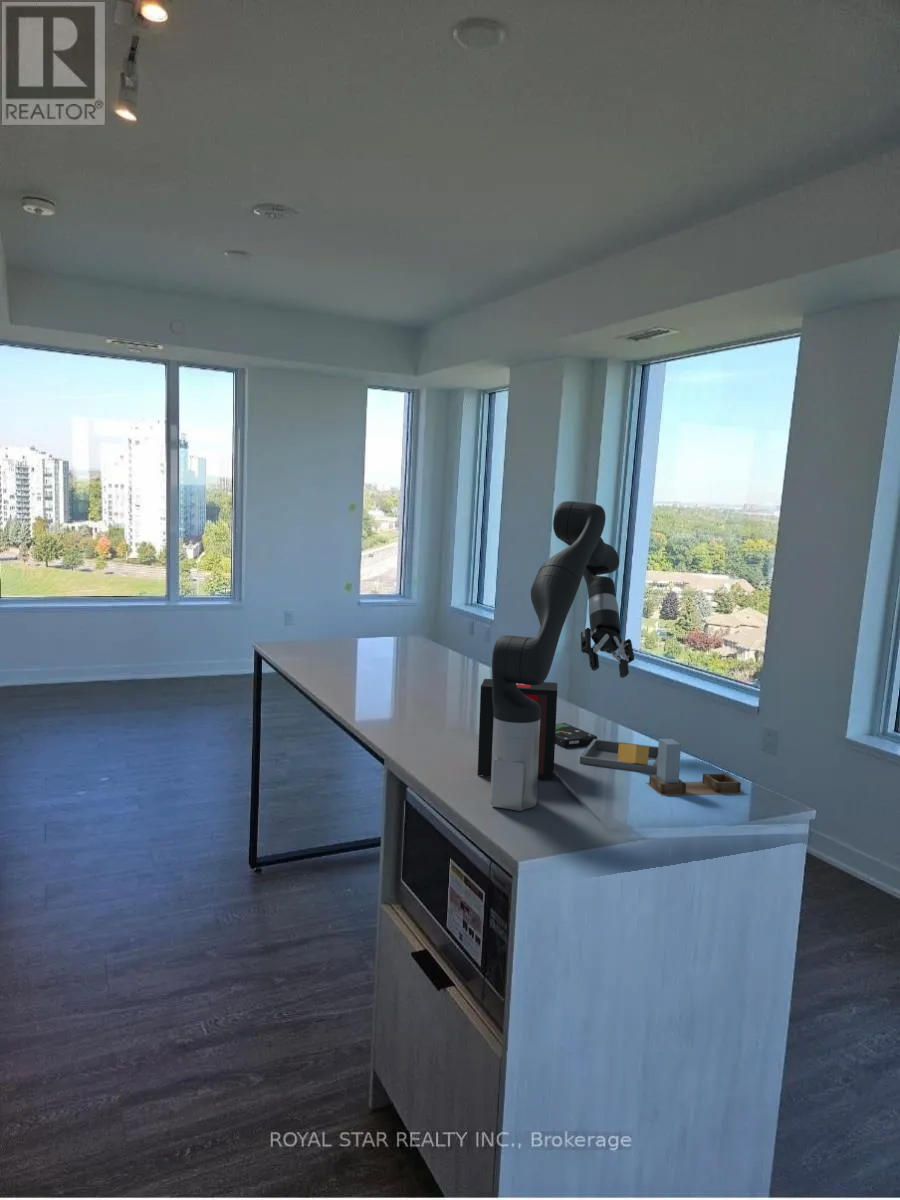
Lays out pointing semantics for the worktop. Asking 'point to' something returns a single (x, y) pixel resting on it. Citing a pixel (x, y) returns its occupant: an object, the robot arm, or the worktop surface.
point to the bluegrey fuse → (668, 761)
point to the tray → (615, 756)
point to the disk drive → (572, 736)
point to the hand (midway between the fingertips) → (609, 672)
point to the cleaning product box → (548, 704)
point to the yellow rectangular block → (633, 753)
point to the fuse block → (698, 786)
